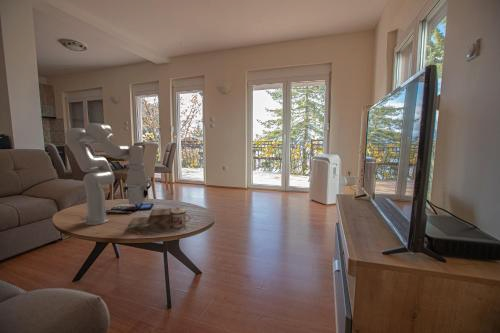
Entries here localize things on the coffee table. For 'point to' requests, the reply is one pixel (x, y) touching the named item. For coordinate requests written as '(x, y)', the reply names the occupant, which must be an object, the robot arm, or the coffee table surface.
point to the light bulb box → (136, 194)
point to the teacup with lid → (178, 217)
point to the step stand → (152, 221)
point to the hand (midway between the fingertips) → (138, 197)
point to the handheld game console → (144, 206)
